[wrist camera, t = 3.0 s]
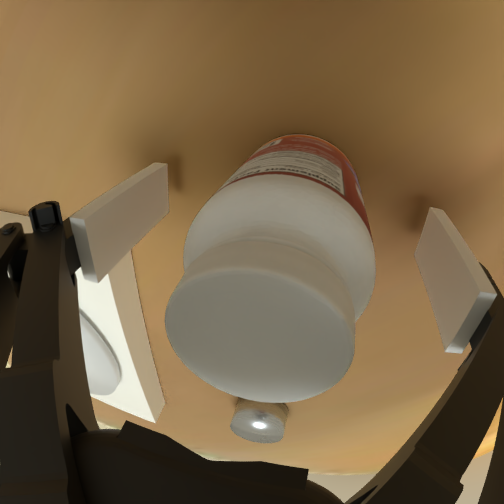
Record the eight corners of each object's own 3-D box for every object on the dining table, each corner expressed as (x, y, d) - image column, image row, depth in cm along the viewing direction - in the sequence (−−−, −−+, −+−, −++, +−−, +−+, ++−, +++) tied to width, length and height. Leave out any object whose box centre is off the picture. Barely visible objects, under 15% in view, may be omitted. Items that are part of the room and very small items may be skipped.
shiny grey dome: (239, 388, 27) (230, 414, 25) (292, 399, 27) (286, 426, 24) (237, 412, 30) (229, 436, 28) (284, 422, 29) (279, 446, 27)
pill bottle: (340, 252, 18) (332, 432, 9) (236, 225, 18) (147, 380, 9) (373, 149, 14) (438, 284, 5) (253, 119, 15) (128, 203, 6)
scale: (-8, 208, 24) (-37, 228, 20) (128, 236, 21) (94, 270, 17) (51, 356, 36) (35, 376, 32) (166, 404, 33) (152, 433, 29)
